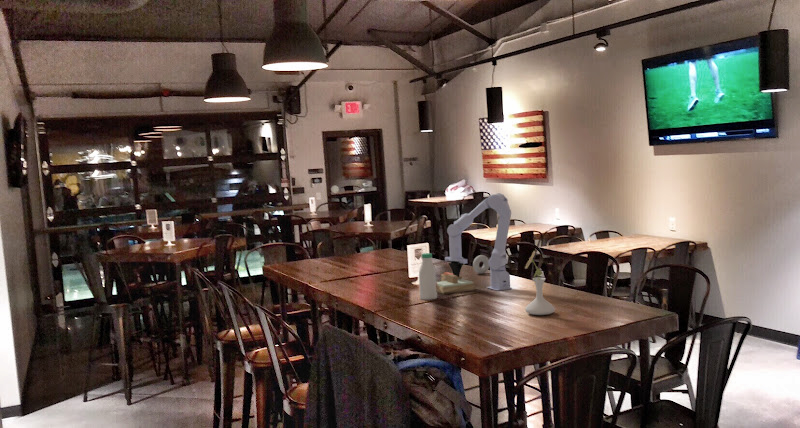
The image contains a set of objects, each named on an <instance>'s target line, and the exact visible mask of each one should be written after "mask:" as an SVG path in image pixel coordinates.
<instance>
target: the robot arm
mask: <svg viewBox="0 0 800 428" xmlns="http://www.w3.org/2000/svg"><path fill="white" fill-rule="evenodd" d="M508 200H509V199H508V198H507V197H506V196H505V195H504V194H503V193H501V192H500V193H496V194H491V195H489V196H488V197H486V198H485V199H483V200H482V201H481V202H480V203H478V205H476V207H475V208H473V210H470V212H469V213H462V214H461V215H460V217H459V218H458V219H457V220H454V221H453V224H452V223H451V224H449V225H448V227H447V229H446V232H447V234H448V242H449V243H448V245H449V256H445V257H444V262H448V265H449V267H450V269H451V271H452V273H453V275H456V276H458V277H459V276H461V270H462V268H463V266H464V265H465V264H468V258H464V257H463V256H462V255H463V254H462V253H463V252H462V250H463V249H462V234H463V231H465V230H466V229H468V227H470V226H471V225H472V224H473V223H474V219H475V218H476V217H478V216H479V215H481V213H482V212H484V211H485V210H487V209H493V210H494V211H495V212H496V213H497V214H498V217H499V218H498V223H497V224H498V225H497V229H496V235H495V241H494V248H493V250H492V252H491V256H490V258H488V259H489V261H488V265H489V271H490V272H489V273H490V274H489V275H490V276H489V277H490V278H489V279H490V286H486V288H487V289H491V290H494V291H505V290H511V289H513V288H512V287H511V275H510V273H509V271H507V269H506V264H507V261H508V260H507V257H506V255H507V252H506V247H507V241H508V235H509V229H510V224H511V218H512V210H511V208H510V205H509V201H508Z"/></svg>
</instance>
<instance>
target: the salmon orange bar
mask: <svg viewBox="0 0 800 428" xmlns="http://www.w3.org/2000/svg"><path fill="white" fill-rule="evenodd" d="M443 274H444V275H450V274H452V275H453V272H449V271H447V272H446V271H445V272H443Z"/></svg>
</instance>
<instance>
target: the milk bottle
mask: <svg viewBox="0 0 800 428" xmlns="http://www.w3.org/2000/svg"><path fill="white" fill-rule="evenodd" d="M432 259H433V254H432V253H431V252H430V253H429V252H428V253H426V252H424V253H421V260H422V261H421V265H420V268H419V271H418V272H419V273H418V280H419V281H418V282H419V283H418V284H419V298H420V300H423V301H425V300H426V301H430V300H436V299H437V298H438V292H437V282H438V281H437V271H436V268H435V266H434V263H433V260H432Z"/></svg>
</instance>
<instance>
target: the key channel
mask: <svg viewBox="0 0 800 428" xmlns="http://www.w3.org/2000/svg"><path fill="white" fill-rule="evenodd" d="M458 279H463V277H462V276H461V275H459V277H458ZM440 281H447V276H446V275H444V273H441V274H440Z"/></svg>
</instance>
